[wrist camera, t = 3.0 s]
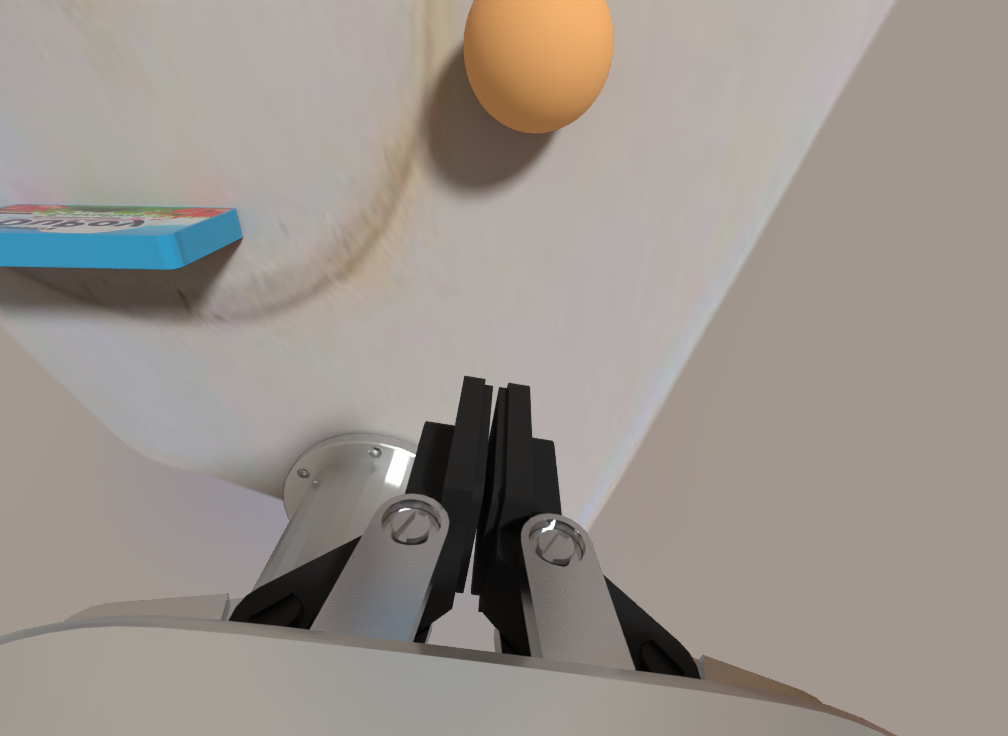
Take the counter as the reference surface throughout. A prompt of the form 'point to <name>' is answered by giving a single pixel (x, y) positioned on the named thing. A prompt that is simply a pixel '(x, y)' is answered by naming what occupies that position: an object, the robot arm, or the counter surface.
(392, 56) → the counter surface
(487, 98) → the ball
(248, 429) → the counter surface
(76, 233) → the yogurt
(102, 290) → the counter surface
